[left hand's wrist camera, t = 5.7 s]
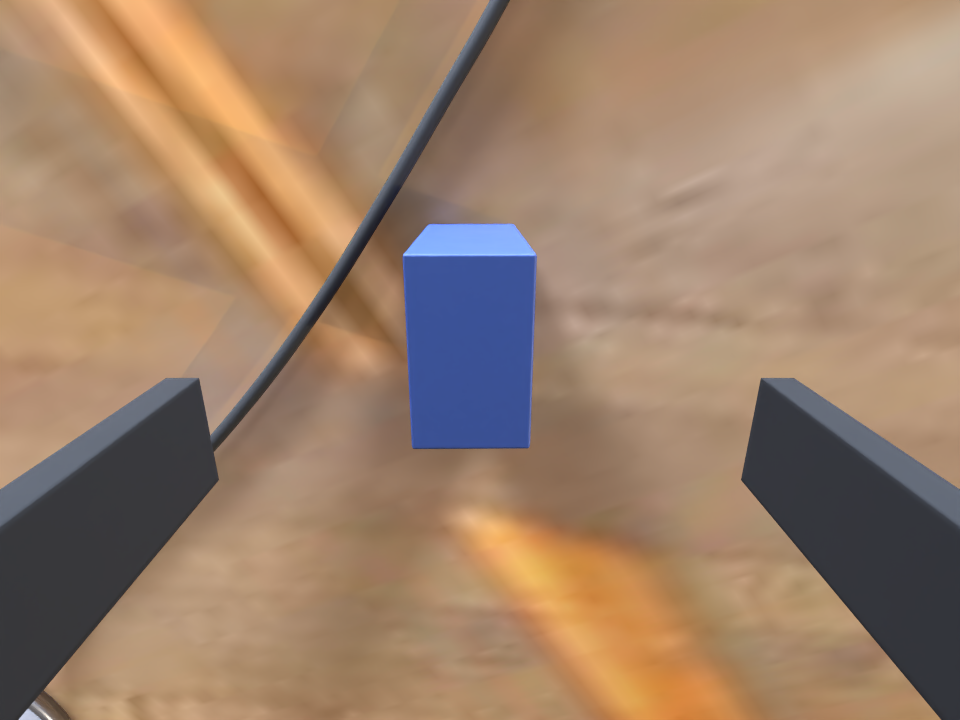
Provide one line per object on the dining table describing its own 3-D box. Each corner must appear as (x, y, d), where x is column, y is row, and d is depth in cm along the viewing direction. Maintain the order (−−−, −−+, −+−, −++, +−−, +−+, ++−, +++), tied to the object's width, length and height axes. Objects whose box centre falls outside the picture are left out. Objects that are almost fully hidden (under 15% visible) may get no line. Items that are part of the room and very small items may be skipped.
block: (432, 357, 28) (411, 450, 19) (427, 223, 26) (402, 254, 17) (511, 357, 28) (529, 449, 19) (514, 223, 26) (537, 253, 17)
